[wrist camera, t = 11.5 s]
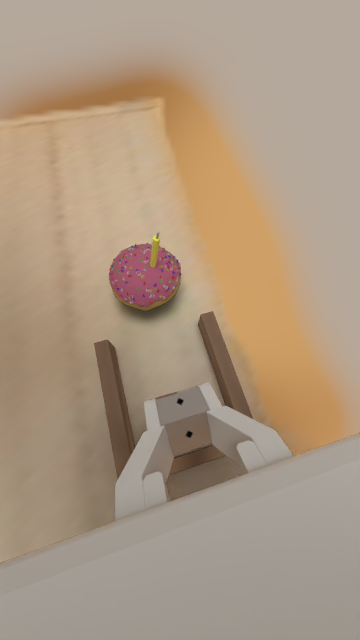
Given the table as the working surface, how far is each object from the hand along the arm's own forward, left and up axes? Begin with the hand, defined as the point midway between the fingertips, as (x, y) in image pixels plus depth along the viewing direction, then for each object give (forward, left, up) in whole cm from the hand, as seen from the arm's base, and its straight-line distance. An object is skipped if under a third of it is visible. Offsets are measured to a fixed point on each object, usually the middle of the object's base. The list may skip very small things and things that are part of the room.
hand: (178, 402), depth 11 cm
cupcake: (+1, +16, -19) cm, 24 cm away
